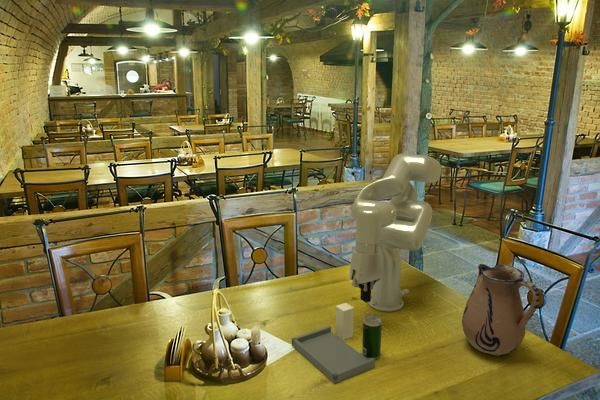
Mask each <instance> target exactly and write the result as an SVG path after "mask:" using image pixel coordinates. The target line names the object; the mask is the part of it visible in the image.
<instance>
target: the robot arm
mask: <svg viewBox="0 0 600 400" xmlns="http://www.w3.org/2000/svg"><path fill="white" fill-rule="evenodd" d="M441 175H442V165H441V163H440V161H439V160H437V159H435V158H434V157H431V156H429V155H424V154H415V153H399V154H396V155H395V156H393V158H392V160H391V161H390V163H389V165H388V166H387V169H386V170H385V172H384V174H383V176H382V177H381V178H379V179H377V180H375V181H373V182H371V183H369V184H367V185H366V186H364V187H363V188H362V189H360V191H359V193H358V194H357V196H356V198H355V199H354V201H353V204H352V207H351V217H352V219H353V220H354V221H355V223H356V225H355V229H356V230H355V249H354V250H353V251H352V255H351V259H350V263H349V264H350V265H349V279H350V280H352V281H351V282H352V283H351V287H352V286H353V287H354V288H359V289H360V295H359V297H360V301H363V302H364V303H366V304H367V305H368V306H370V307H371V308H372V309H375V310H377V311H380V312H397V311H399V310H401V309H402V308H403V307H404V305H405V304H404V299H402V298H403V296H406V295H409V294H410V291H409V289H408V288H405V289H403V290H402V289H401V276H402V275H401V271H402V256H401V253H400V251H399V250H405V251H411V252H415V251H418V250H420V248H421V247H422V246H423V243H424V242H425V238H426V236H427V233H428V231H429V229H430V225H431V223H432V218H433V208H432V206H431V205H430V203H428V202H427V201H422V200H418V197H419V194H418V191H417V190H416V188H415V186H414V185H413V184H412V183H411V182H421V183H430V184H435V183H437V182H438V181H439V180H440V178H441ZM389 198H390V200H389V202H384V201H379V200H384V199H389Z"/></svg>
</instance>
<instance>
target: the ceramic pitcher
mask: <svg viewBox="0 0 600 400" xmlns="http://www.w3.org/2000/svg"><path fill="white" fill-rule="evenodd" d="M477 267H478V275H477V279H476V281H475V284H474V286H473V288H472V291H471V294H470V295H469V297H468V300H467V302H466V304H465V307H464V310H463V313H462V319H461V325H462V330H463V333H464V336H465V338H466V339H467V341H468V342H469V343H470V345H471V346H472V347H474V349H476V350H477V351H479V352H482V353H485V354H489V355H493V356H497V357H499V356H504V355H507V354H509V353H512V352H514V351H515V350H516V349H518V348H519V346H520V345H521V343H523V340H524V338H525V335H526V325H527V324H528V322H529V321H530V320H531V318H532V317H533V316H534V314H535V312H536V311H537V310H538V307H539V304H540V298H541V295H540V290H539V289H538V287H537V286H536V285H535V284H534V283H533V282H531V281H528V280H525V273H524V272H523V270H520V269H519V268H517V267H515V266H511V265H508V264H496V265H494V266H492V267H491V266H488V265H487V264H483V263H479V264H478V265H477ZM521 287H526V288H527V289H528V290H530V292H531V296H532V299H531V303H530V306H529V308H528V310H527V311H526V313H525V311H524V306H523V302H522V301H523V300H522V298H521V297H522V296H521V293H520V288H521Z"/></svg>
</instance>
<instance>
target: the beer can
mask: <svg viewBox="0 0 600 400" xmlns="http://www.w3.org/2000/svg"><path fill="white" fill-rule="evenodd" d="M382 327H383V321H382V317H380V316H379V315H376V314H373V313H372V314H365V316H364V317H363V321H362V340H361V341H362V342H361V343H362V344H361V355H363V356H364V357H366V358H367V359H371V358H374V359H375V360H378V359H379V358H380V357H381V351H382V350H381V349H382V329H383V328H382Z"/></svg>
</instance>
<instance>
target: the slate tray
mask: <svg viewBox="0 0 600 400" xmlns="http://www.w3.org/2000/svg"><path fill="white" fill-rule="evenodd" d="M291 346H292V347H293V348H294V349H295V350H296V351H297V352H299V353H300V354H301V355H302V356H303V357H304V358H305V359H307V361H309V362H310V363H311V364H312V365H313V366H314V367H315V368H317V370H319V371H320V372H321V373H322V374H323V375H324V376H326V378H328V379H329V380H330V381H331V382H332V383H333V384H337V383H340V382H342V381H344V380H345V381H346V380H348V379H349V378H352V377H353V376H356V375H359V374H361V373H363V372H365V371H368V370H371V369H372V368H375V366H376V359H374V358H371V359H367V358H366V357H364V356H363V354H362V353H360V352H359V351H358V350H356V349H355V348H354V347H352V346H351V345H349V343H347V342H345V340H342V339H341V338H339V337H338V336H337V335H335V333H334V332H332V327H331V325H328V326H324V327H321V328H319V329H316V330H313V331H310V332H306V333H305V334H301V335H300V336H296V337H293V338H291Z"/></svg>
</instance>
